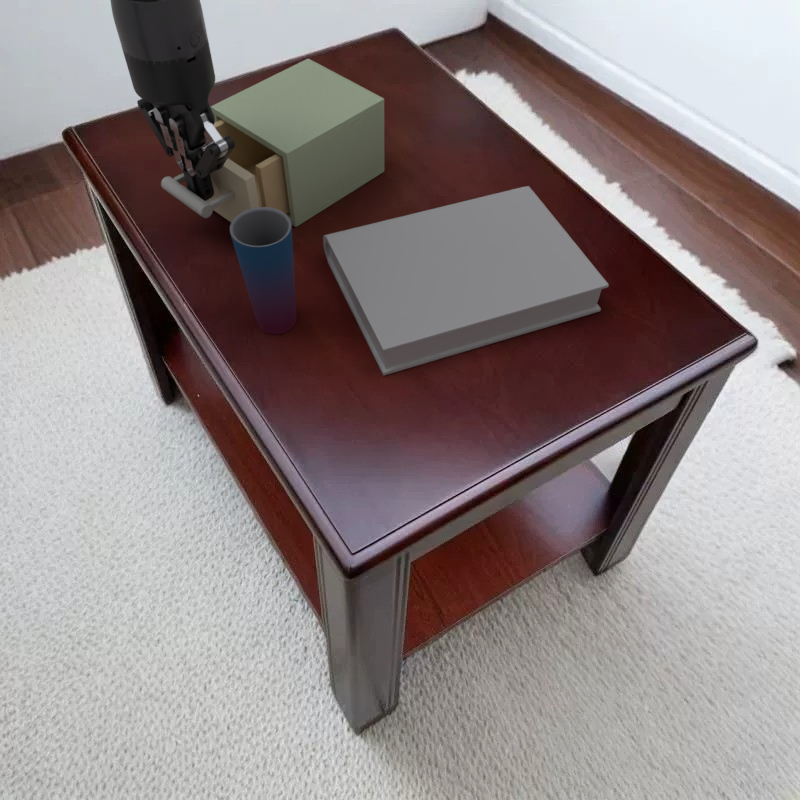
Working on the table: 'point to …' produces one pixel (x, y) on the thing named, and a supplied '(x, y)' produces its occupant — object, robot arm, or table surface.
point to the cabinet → (313, 132)
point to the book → (461, 277)
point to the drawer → (238, 179)
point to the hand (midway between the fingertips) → (202, 197)
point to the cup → (267, 266)
